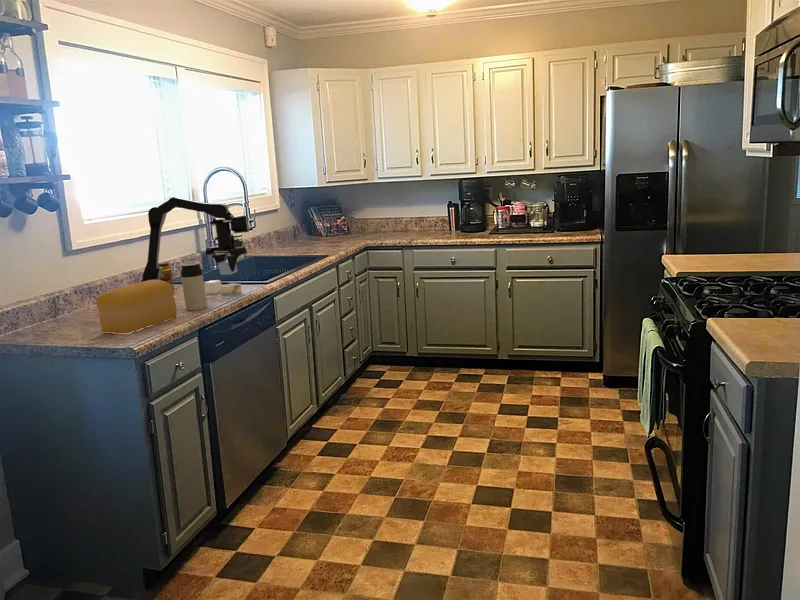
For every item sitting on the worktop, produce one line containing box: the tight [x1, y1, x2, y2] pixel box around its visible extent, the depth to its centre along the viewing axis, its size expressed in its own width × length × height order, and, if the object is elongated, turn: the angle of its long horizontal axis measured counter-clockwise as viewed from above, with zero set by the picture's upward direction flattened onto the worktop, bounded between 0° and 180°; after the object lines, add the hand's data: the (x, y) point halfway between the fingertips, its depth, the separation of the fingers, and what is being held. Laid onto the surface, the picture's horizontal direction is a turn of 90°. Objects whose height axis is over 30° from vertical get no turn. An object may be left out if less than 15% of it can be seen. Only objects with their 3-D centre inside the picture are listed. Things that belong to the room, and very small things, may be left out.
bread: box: [96, 280, 178, 333], centre depth 238 cm, size 24×13×15 cm, turn 156°
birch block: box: [220, 283, 243, 297], centre depth 282 cm, size 6×6×4 cm
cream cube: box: [204, 279, 222, 294], centre depth 289 cm, size 5×5×5 cm
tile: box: [222, 294, 241, 299], centre depth 277 cm, size 6×4×1 cm, turn 147°
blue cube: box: [217, 259, 238, 276], centre depth 280 cm, size 5×5×5 cm
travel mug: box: [180, 261, 208, 311], centre depth 257 cm, size 8×8×18 cm
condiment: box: [159, 262, 178, 290], centre depth 305 cm, size 7×8×12 cm
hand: (228, 271), depth 280 cm, fingers closed on blue cube, 5 cm apart
